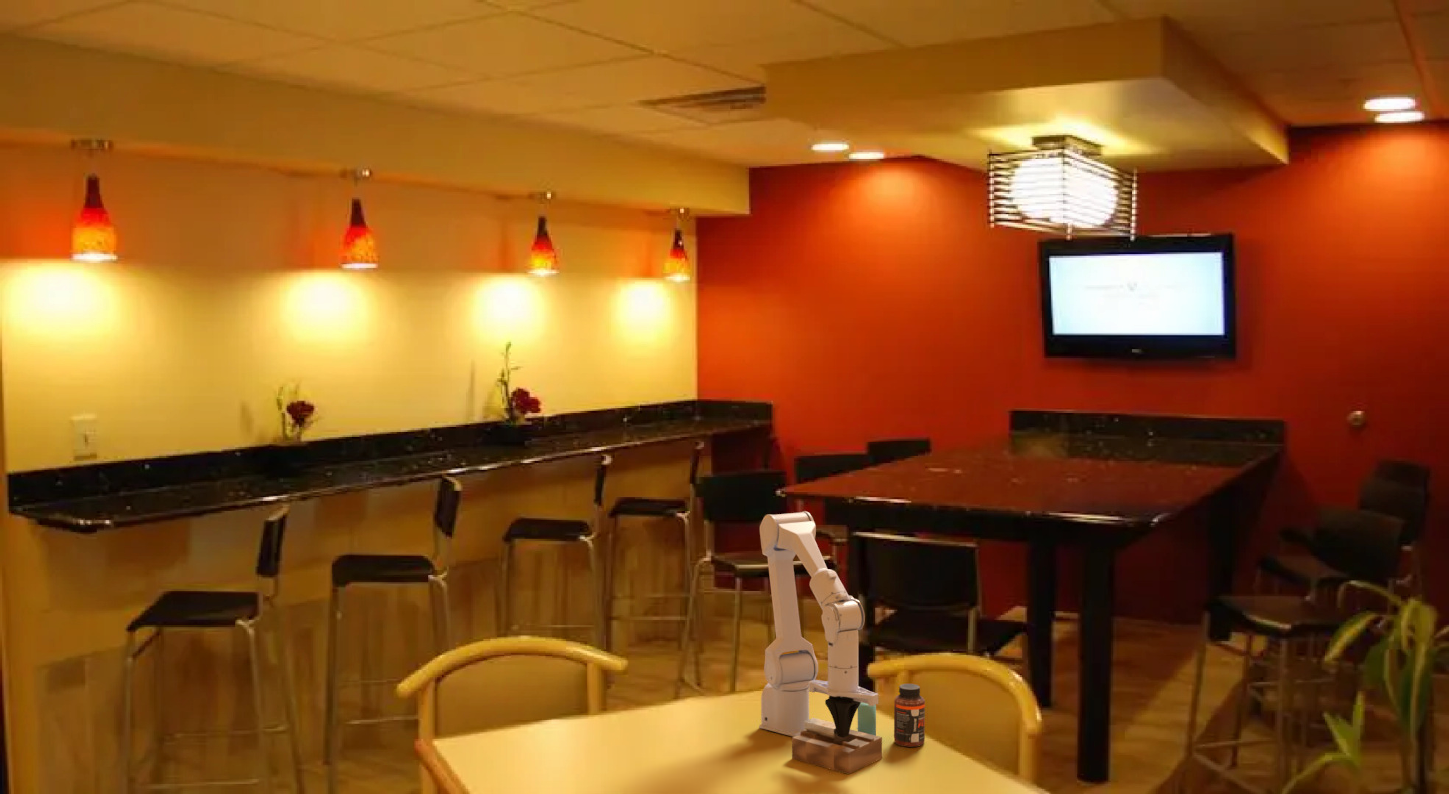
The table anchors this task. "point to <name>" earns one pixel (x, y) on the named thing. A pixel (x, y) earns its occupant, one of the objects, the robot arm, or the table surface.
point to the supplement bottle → (909, 716)
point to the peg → (867, 719)
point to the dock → (837, 750)
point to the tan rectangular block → (821, 727)
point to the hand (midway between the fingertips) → (843, 735)
